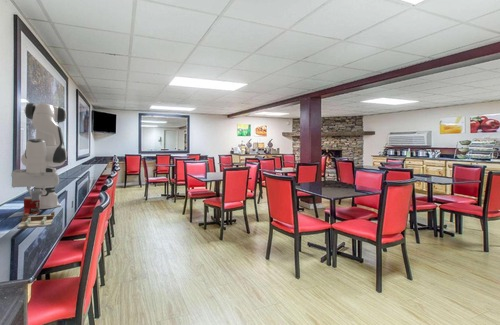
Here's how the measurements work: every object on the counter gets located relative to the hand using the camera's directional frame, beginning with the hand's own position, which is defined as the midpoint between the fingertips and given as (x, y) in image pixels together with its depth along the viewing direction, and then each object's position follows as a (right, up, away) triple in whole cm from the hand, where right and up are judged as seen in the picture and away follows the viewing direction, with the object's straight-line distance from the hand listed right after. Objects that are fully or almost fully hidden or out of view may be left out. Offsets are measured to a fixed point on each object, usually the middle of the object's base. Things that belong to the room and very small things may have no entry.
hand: (36, 194), depth 149 cm
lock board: (-4, -16, +6) cm, 18 cm away
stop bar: (0, -2, +1) cm, 2 cm away
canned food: (-20, -15, +21) cm, 33 cm away
